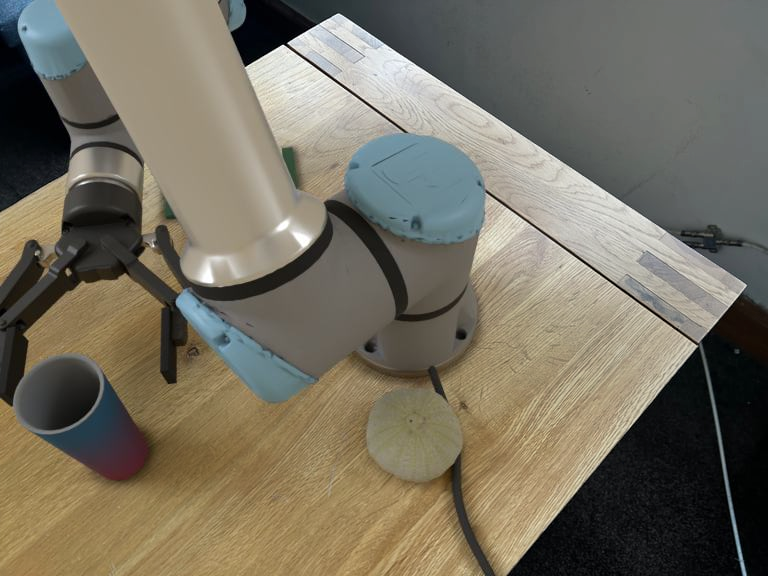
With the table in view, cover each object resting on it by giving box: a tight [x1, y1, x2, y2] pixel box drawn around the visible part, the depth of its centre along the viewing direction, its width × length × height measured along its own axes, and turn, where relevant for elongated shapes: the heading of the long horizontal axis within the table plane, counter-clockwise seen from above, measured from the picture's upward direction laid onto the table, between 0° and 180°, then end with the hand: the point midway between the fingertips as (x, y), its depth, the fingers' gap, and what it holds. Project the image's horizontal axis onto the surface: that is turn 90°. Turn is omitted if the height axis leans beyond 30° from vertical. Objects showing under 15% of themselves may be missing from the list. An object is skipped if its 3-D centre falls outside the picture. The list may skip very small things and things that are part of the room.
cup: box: [12, 352, 149, 481], centre depth 57 cm, size 7×7×15 cm
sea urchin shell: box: [365, 387, 464, 484], centre depth 63 cm, size 9×8×8 cm
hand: (89, 389), depth 58 cm, fingers open, 13 cm apart
